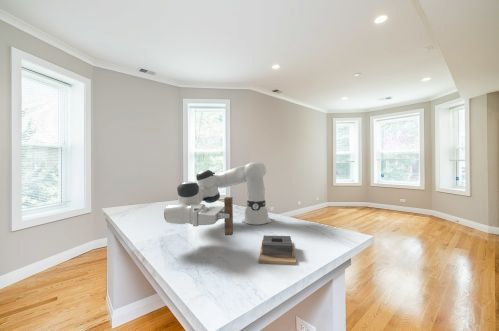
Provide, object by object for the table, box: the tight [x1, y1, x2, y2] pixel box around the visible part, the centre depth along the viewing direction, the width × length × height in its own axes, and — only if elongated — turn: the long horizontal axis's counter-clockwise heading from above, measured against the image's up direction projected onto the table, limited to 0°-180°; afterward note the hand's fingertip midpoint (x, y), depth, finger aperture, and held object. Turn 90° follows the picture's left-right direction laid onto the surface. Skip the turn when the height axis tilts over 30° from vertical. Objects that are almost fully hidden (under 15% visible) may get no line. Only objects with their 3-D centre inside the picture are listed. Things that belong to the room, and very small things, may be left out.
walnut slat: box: [223, 196, 234, 236], centre depth 101 cm, size 3×3×16 cm
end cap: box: [258, 234, 297, 266], centre depth 99 cm, size 24×14×5 cm, turn 174°
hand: (230, 214), depth 101 cm, fingers closed on walnut slat, 3 cm apart
